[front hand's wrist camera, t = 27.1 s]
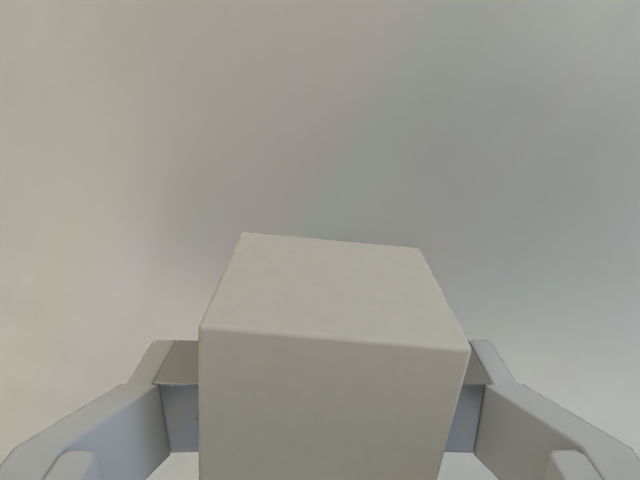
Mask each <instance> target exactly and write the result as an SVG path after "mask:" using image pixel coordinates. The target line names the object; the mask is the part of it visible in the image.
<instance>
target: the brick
mask: <svg viewBox="0 0 640 480" xmlns="http://www.w3.org/2000/svg"><path fill="white" fill-rule="evenodd" d="M470 354H471V346H470V344H469V342H468V340H467V338H466V337H465V335H464V333H463V331H462V329H461V327H460V325H459V323H458V321H457V319H456V317H455V316H454V314H453V312H452V310H451V308H450V306H449V304H448V302H447V300H446V298H445V296H444V295H443V293H442V291H441V289H440V287H439V285H438V283H437V281H436V279H435V277H434V275H433V273H432V272H431V270H430V268H429V266H428V264H427V262H426V260H425V258H424V256H423V254H422V252H421V251H420V249H418V248H411V247H400V246H390V245H379V244H368V243H357V242H346V241H336V240H325V239H314V238H303V237H293V236H282V235H271V234H260V233H249V232H242V233H241V235H240V237H239V239H238V241H237V243H236V245H235V248H234V250H233V252H232V254H231V256H230V259H229V261H228V263H227V265H226V267H225V270H224V272H223V274H222V276H221V279H220V281H219V283H218V285H217V287H216V290H215V292H214V294H213V296H212V298H211V301H210V303H209V305H208V307H207V309H206V312H205V314H204V316H203V318H202V320H201V323H200V325H199V480H437V476H438V473H439V469H440V465H441V462H442V458H443V454H444V450H445V447H446V443H447V439H448V436H449V432H450V428H451V425H452V421H453V417H454V414H455V410H456V406H457V402H458V399H459V395H460V391H461V388H462V384H463V380H464V377H465V373H466V369H467V366H468V362H469V358H470Z"/></svg>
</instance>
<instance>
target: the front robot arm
mask: <svg viewBox="0 0 640 480" xmlns="http://www.w3.org/2000/svg"><path fill="white" fill-rule="evenodd" d="M468 342H469V344H470V346H471V354H470V358H469V362H468V366H467V369H466V373H465V377H464V380H463V384H462V388H461V391H460V395H459V399H458V402H457V406H456V410H455V414H454V417H453V421H452V425H451V428H450V432H449V436H448V439H447V443H446V447H445V450H444V452H471V453H474V455H475V456H476V457H477V458H478V459H479V460H480V461H481V462H482V463H483V464H484V465H485V466H486V467H487V468H488V469H489V470H490V471H491V472H492V473H493V474H494V475H495V476H496V477H497V478H498V479H499V480H640V458H639V457H638V455H637V454H636V453H635V452H634V450H633V449H632V448H630V447H629V446H627V445H625V444H624V443H622V442H620V441H618V440H617V439H615V438H613V437H612V436H610V435H608V434H607V433H605V432H603V431H602V430H600V429H598V428H597V427H595V426H593V425H592V424H590V423H588V422H586V421H585V420H583V419H581V418H580V417H578V416H576V415H575V414H573V413H571V412H570V411H568V410H566V409H565V408H563V407H561V406H560V405H558V404H556V403H554V402H553V401H551V400H549V399H548V398H546V397H544V396H543V395H541V394H539V393H538V392H536V391H534V390H533V389H531V388H529V387H528V386H526V385H518V384H517V382H516V381H515V379H514V378H513V376H512V374H511V373H510V371H509V370H508V368H507V366H506V365H505V363H504V362H503V360H502V358H501V357H500V355H499V354H498V352H497V350H496V349H495V347H494V346H493V344H492V342H490V341H489V340H473V341H468ZM173 452H199V341H183V340H177V341H175V340H156V341H154V342H152V343H151V345H150V346H149V348H148V350H147V351H146V353H145V355H144V356H143V358H142V360H141V361H140V363H139V365H138V366H137V368H136V370H135V371H134V373H133V375H132V376H131V378H130V380H129V381H128V383H127V385H119V386H117V387H115V388H114V389H112V390H110V391H109V392H107V393H105V394H104V395H102V396H100V397H99V398H97V399H95V400H93V401H92V402H90V403H88V404H87V405H85V406H83V407H82V408H80V409H78V410H77V411H75V412H73V413H72V414H70V415H68V416H67V417H65V418H63V419H62V420H60V421H58V422H57V423H55V424H53V425H52V426H50V427H48V428H47V429H45V430H43V431H42V432H40V433H38V434H37V435H35V436H33V437H32V438H30V439H28V440H26V441H25V442H23V443H21V444H20V445H18V446H16V447H15V448H14V449H13V450H12V451H11V452H10V454H9V455H8V456H7V457H6V459H5V460H4V461H3V463H2V464H1V465H0V480H145V479H146V478H147V477H148V476H149V475H150V474H151V473H152V472H153V471H154V470H155V469H156V468H157V467H158V466H159V465H160V464H161V463H162V462H163V461H164V460H165V459H166V458H167V457H168V456H169V455H170V453H173Z"/></svg>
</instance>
